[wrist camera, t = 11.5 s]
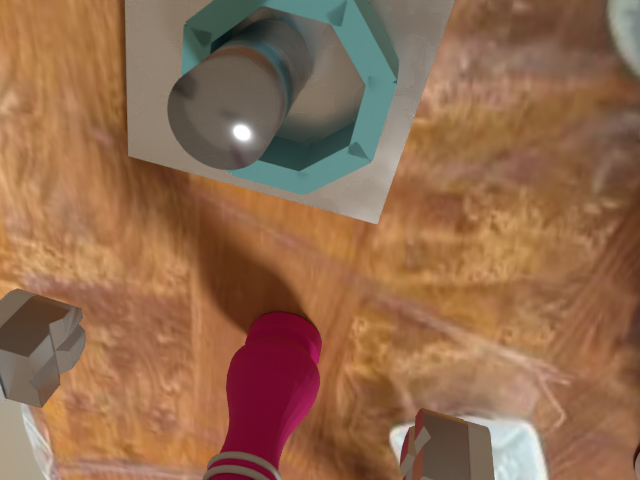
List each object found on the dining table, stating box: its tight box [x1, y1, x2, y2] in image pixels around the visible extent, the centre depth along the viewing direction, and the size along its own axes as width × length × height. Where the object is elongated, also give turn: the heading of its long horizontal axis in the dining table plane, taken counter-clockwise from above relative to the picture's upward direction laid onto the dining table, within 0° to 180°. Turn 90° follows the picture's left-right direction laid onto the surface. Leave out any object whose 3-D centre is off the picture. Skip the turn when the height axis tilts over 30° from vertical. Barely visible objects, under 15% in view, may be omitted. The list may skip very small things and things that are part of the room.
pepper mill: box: [202, 312, 322, 480], centre depth 34 cm, size 7×7×20 cm
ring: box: [181, 0, 399, 195], centre depth 26 cm, size 11×11×4 cm
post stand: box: [125, 0, 455, 224], centre depth 24 cm, size 17×17×10 cm
